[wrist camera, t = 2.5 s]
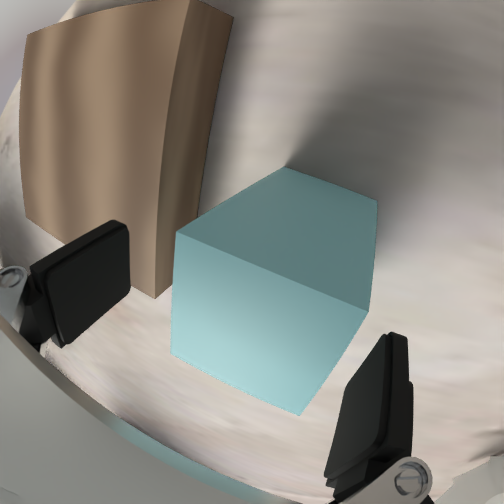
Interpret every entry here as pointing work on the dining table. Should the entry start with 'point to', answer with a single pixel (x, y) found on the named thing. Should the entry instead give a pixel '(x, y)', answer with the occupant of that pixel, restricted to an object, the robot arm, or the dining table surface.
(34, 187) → the wavy brown panel
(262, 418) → the dining table surface
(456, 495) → the spiral staircase
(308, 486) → the dining table surface
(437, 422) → the dining table surface
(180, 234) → the teal carton
